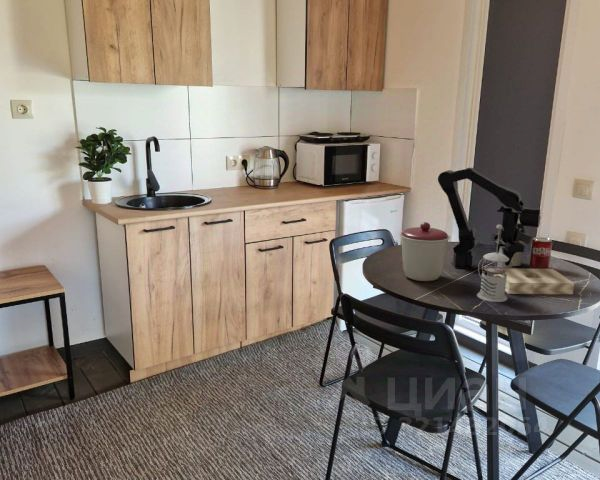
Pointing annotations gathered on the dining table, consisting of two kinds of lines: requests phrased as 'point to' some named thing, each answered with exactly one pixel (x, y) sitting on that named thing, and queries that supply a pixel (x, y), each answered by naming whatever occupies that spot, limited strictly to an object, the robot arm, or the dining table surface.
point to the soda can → (540, 253)
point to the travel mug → (518, 255)
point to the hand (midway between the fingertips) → (504, 263)
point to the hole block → (536, 282)
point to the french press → (493, 277)
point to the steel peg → (502, 264)
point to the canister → (423, 252)
